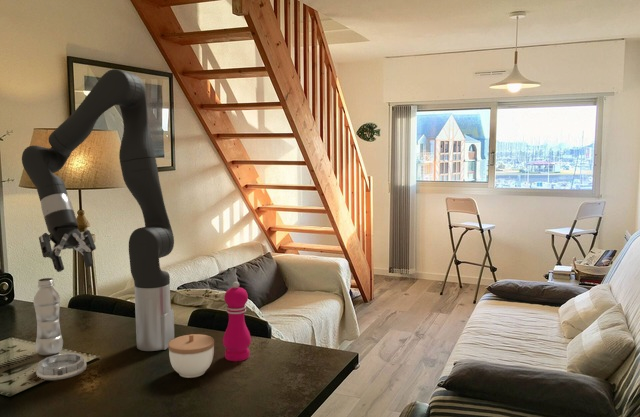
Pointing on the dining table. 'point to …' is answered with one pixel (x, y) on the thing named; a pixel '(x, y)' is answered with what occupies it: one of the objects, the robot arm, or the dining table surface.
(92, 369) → the dining table surface
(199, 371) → the lidded jar
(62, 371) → the tray
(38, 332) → the plastic bottle
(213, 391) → the dining table surface
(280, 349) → the dining table surface
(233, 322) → the pepper mill
